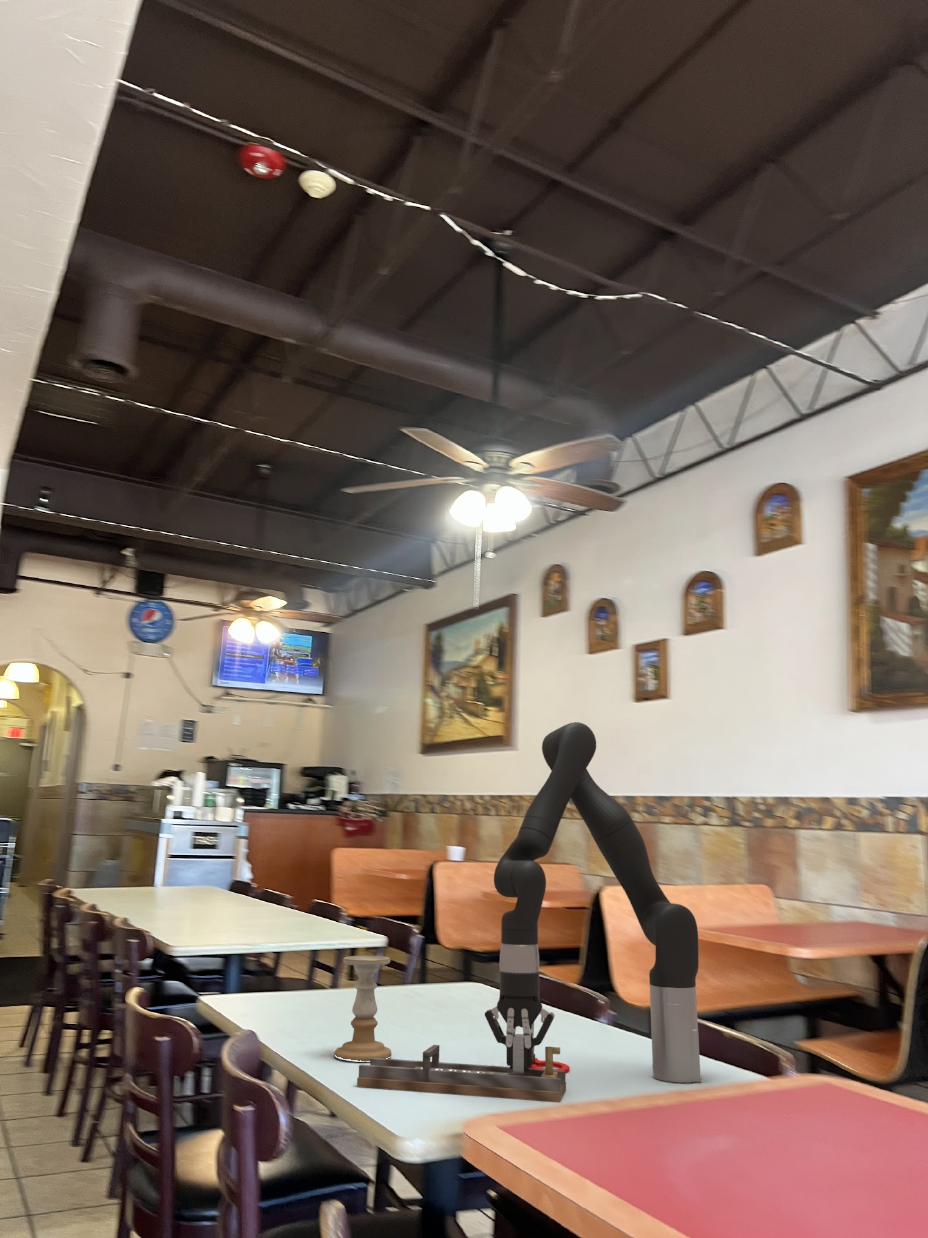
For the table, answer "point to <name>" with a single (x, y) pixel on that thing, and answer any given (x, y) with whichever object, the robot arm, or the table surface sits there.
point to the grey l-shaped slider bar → (517, 1058)
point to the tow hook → (542, 1063)
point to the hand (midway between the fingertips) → (519, 1068)
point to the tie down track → (464, 1078)
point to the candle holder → (364, 1012)
